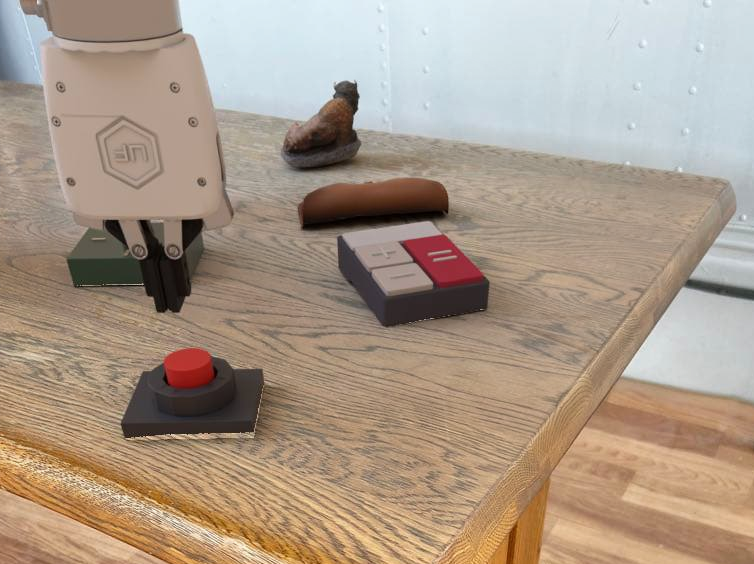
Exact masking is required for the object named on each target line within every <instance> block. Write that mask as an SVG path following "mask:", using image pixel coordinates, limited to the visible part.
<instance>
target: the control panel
mask: <svg viewBox="0 0 754 564" xmlns="http://www.w3.org/2000/svg"><path fill="white" fill-rule="evenodd" d="M151 224H152V227H153V230H154V233H155V236H156V238H157V239H158V240H159V243H162V245H163V246H164V223H163V222H151ZM204 250H205V244H204V238H203V233H202V232H200V233H199V235H198V236H197V237H196V238H195V239H194V240H193V242H192V243H191V244H190V245H189V246H188V248H187V249H186V250H185V252H186V258H187V263H188V269H189V275H190V280H191V281H192V279H193V277H192V275H193V276H194V274H195V271H196V269H197V267H198V265H199V262H200V259H201V257H202V255H203V251H204ZM66 263H67V267H68V270H69V274H70V277H71V281H72V284H73V287H74V286H77V285H78V286H80V285H81V286H82V285H103V284H104V285H106V284H142V283H143V284H144V281H143V277H142V272H141V268H140V263H139V259H136V258H135V257H133V256H132V254H131V252H130V250H129V248H123V246H122V243H121V242H120V241H119V240H118V239H116V238H115V237H114V236H113V235H111V234H110V233H109V232H108V231H105V230H103V231H101V230H96V229H92V228H88V227H87V230H86V231H85V233H84V234H83V235H82V237H81V238H80V239H79V241H78V242H77V243H76V245H75V246H74V247H73V249H72V250H71V252H70V253H69V254H68V256H67V257H66ZM191 278H192V279H191Z"/></svg>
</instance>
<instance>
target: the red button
mask: <svg viewBox="0 0 754 564" xmlns="http://www.w3.org/2000/svg"><path fill="white" fill-rule="evenodd" d="M211 356H212V355H211V354H210V352H209V351H208V350H205V349H203V348H197V347H196V348H195V347H187V348H181V349H177V350H174V351H173V352H171V353H169V354H168V355H166V356H165V358H164V360H163V362H164V366H165V370H166V375H167V379H168V383H169V385H170V386H172V387H175V388H178V389H188V388H196V387H199V386H203V385H206V384H208V383H210V382H211V381H212V380H214V377H215V376H214V370H213V365H212V359H211Z"/></svg>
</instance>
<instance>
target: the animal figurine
mask: <svg viewBox="0 0 754 564" xmlns="http://www.w3.org/2000/svg"><path fill="white" fill-rule="evenodd" d="M353 81H354V82H351V81H349V80H342V81H340V82H338V83H336V81H334V82H333V89H334V91H335V92H334V93H333V94H332V98H331V99H330V100H328V101H327V102H326V103H325V104H323V105H322V107H320V109H319V110H318V112H316V114H314V115H313V116H311V117H310V118H309V119H308V120H307V121H306V122H305V124H299V123H298V122H296V121H295V122H293V123H292V124H291V125H290V128H289V129H288V131H287V133H286V134H285V136H284V140H283V145H282V146H281V148H280V151H279V152H280V156H281V158H282V160H283V161H284V162H285V163H286V164H287V165H289V166H290V167H293V168H317V167H323V166H327V165H332V164H334V163H339V162H341V161H345V160H347V159H350V158H353V157H355V156H357V155H358V152H359V150H360V148H361V146H362V141H361V139H360V138H359V137H358V133H357V131H356V130H355V129H354V121H355V115H356V113H357V112H358V110H359V99H360V98H361V96H360V93H359V91H358V82H357V80H356V79H353Z"/></svg>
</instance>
